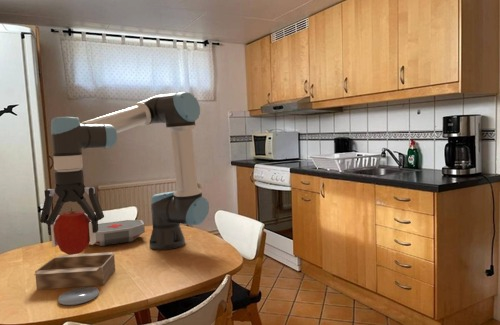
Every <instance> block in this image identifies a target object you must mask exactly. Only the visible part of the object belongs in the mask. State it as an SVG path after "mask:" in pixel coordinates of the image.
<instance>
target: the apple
mask: <svg viewBox="0 0 500 325" xmlns="http://www.w3.org/2000/svg"><path fill="white" fill-rule="evenodd" d="M90 222H91V220H90V219H89V217H88V216H87V214H86V213H85V212H84V211H80V210H77V211H75V210H73V208H70V211H65V212H63V213H61V214H60V215H59V216H57V218H56V220H55V222H54V223H55V225H54V228H53V230H54V235H55V240H56V242H57V244H58V245H57V246H58V248H59V250H60V251H61V252H62V253H64V254H65V255H74V254H82V253H83V252H84V251H85V250H86V249H87V248H89V245H90V234H89V223H90Z"/></svg>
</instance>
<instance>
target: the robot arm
mask: <svg viewBox="0 0 500 325" xmlns="http://www.w3.org/2000/svg"><path fill="white" fill-rule="evenodd" d="M200 115H201V107H200V102H199V101H198V99H197V98H196V97H195V95H193V94H192V93H190V92H189V91H188V92H187V91H178V92H172V93H171V92H170V93H165V94H158V95H155V96H152V97H149V98H147V99H144V100H142V101H139V102H136V103H135V104H134V105H133V106H131V107H127V108H125V109H121V110H118V111H117V110H116V111H115V112H111V113H107V114H105V115H101V116H99V117H98V116H97V117H95V118H92V119H91V118H90V119H88V120H85V121H82V122H80V118H79V117H77V116H76V117H74V116H58V117H53V118H52V119H51V122H50V134H51V143H52V153H53V154H52V156H53V170H55V173H54V180H55V188H47V189H45V190H44V191H43V192H44V200H43V201H44V202H43V207H42V211H41V215H40V219H39V222H40V223H41V224H46V225H47V234H48V235H49V236H51V246H52V248H53V247H56V246H58V244H57V242H56V240H55V235H54V230H53V228H54V225H55V221H56V219H57V218H58V217H59V216H58V215H59V214H60V212H61V210H62V208H63V206H64V204H65V203H68V202H71V203H75V202H76V203H77V204H78V205H79V206H80V208H82V211H83V213H85V214H86V215H87V216H88V217H89V219H90V220H91V222H90V223H89V234H90V242H89V245H95V244H94V243H95V242H96V234H95V233H96V232H98V224H99V221H101V220H103V219H104V218H105V214H104V212H103V209H102V206H101V203H100V201H99V199H98V196H97V188H96V186H92V187H87V186H85V179H84V176H85V175H84V171H83V167H84V166H83V164H84V163H83V150H85V149H88V150H89V149H107V148H111V147H114V145H116V143H117V140H118V134H119V133H122V132H124V131H127V130H130V129H133V128H135V127H138V126H142V127H143V126H144V127H145V126H149V125H151V124H152V125H153V124H165V128H166V129H167V130H168V131H169V132H170V138H171V139H170V140H171V146H172V158H173V166H174V168H173V169H174V176H175V186H176V190H173V191H166V192H160V193H156V194H153V195H152V196H151V199H150V201H151V202H150V209H151V210H150V211H151V222H152V229H151V235H150V238H149V243H148V244H149V248H151V249H152V250H158V251H163V250H164V251H167V250H173V249H177V248H180V247H182V246H184V245H185V244H186V240H185V238H186V237H185V234H184V233H183V230H182V228H181V224H182V225H187V226H199V225H201V224H202V223H204V222H205V220H206V219H207V217H208V215H209V212H210V204H209V200H207V198H206V197H204V196H203V191H202V189H200V188H199V187H198V179H197V178H198V177H197V167H196V159H195V158H196V157H195V156H196V155H195V147H194V146H195V145H194V137H193V136H194V135H193V129H195V128H194V127H195V126H196V121H197V120H198V119H199V117H200ZM85 193H86V194H87V195H88V199H89V201H90V203H91V206H92V207H91V206H90V204H89V203H88V201H87V199H86V197H85V196H84V194H85ZM55 194H56V195H57V196H58V198H57V200H56V203H55V205H54V207H53V209H52V205H53V204H52V203H53V199H54V197H55ZM92 208H93V209H92ZM51 209H52V212H51Z"/></svg>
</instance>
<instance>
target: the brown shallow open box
mask: <svg viewBox="0 0 500 325" xmlns="http://www.w3.org/2000/svg"><path fill="white" fill-rule="evenodd" d="M115 261H116V260H115V253H114V251H113V252H112V251H111V252H109V251H108V252H95V253H78V254H73V255H68V254H62V255H61V254H60V255H58V256H55V257H53V258H51V259H50V260H49V261H47V262H46V263H44V264H43V265H42V266H40V267H39V268H37V269H36V270H35V272H34V274H33V275H34V276H35V284H36V286H35V287H36V290H50V289H60V288H61V289H64V288H80V287H95V286H104V285H105V284H106V283H107V281H109V279H110V278H111V276H113V274H114V273H115V271H116V262H115Z"/></svg>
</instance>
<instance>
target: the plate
mask: <svg viewBox="0 0 500 325" xmlns="http://www.w3.org/2000/svg"><path fill="white" fill-rule="evenodd" d="M97 296H99V289H98V288H97V287H95V286H81V287H75V288H73V289H70V290H67V291H65V292H63V293H61V294H60V295H59V296H58V299H57V300H58V303H59V304H60V305H63V306H74V305H81V304H84V303H87V302H89V301H92V300H93V299H95V298H96V297H97Z"/></svg>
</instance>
